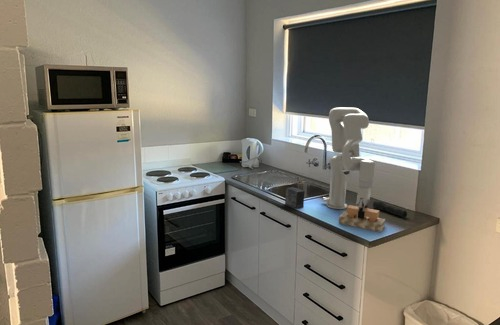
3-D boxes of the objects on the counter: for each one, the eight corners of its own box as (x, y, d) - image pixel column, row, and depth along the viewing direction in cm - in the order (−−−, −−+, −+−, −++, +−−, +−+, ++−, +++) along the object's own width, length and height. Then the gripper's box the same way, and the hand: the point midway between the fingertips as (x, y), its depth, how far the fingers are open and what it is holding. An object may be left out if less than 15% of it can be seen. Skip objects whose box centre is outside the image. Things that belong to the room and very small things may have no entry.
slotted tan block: (338, 223, 207) (339, 216, 206) (344, 217, 215) (344, 211, 215) (380, 232, 196) (381, 224, 195) (384, 226, 205) (385, 219, 204)
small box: (304, 207, 232) (305, 190, 230) (296, 209, 228) (297, 192, 226) (292, 202, 240) (293, 186, 238) (284, 204, 237) (285, 187, 234)
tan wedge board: (345, 221, 207) (346, 207, 206) (348, 218, 212) (349, 204, 210) (375, 227, 200) (377, 213, 198) (378, 224, 204) (379, 210, 202)
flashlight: (377, 207, 236) (378, 199, 235) (407, 217, 220) (408, 209, 219) (372, 208, 234) (372, 200, 233) (401, 219, 217) (402, 210, 216)
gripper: (362, 179, 210) (359, 210, 214) (353, 186, 196) (350, 219, 200) (376, 181, 207) (372, 213, 210) (368, 188, 192) (365, 222, 196)
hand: (362, 216), depth 205 cm, fingers closed on tan wedge board, 5 cm apart
